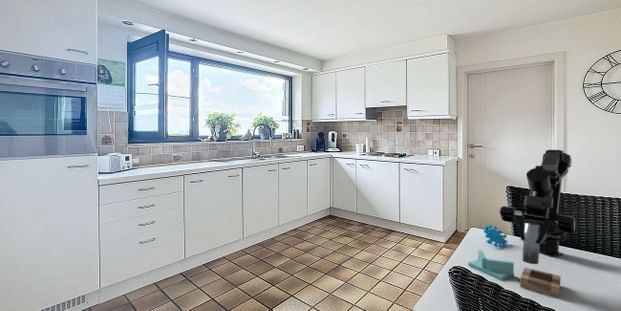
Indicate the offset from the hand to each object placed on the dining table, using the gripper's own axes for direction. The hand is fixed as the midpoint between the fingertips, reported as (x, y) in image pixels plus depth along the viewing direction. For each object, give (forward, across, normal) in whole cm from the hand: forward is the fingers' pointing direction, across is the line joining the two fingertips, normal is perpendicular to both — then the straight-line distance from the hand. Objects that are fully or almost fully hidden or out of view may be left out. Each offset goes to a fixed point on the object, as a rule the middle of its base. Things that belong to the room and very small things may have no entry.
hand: (530, 241), depth 90 cm
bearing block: (+8, +3, +11) cm, 14 cm away
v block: (+8, -11, +11) cm, 17 cm away
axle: (+4, 0, +6) cm, 7 cm away
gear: (-11, -16, +30) cm, 36 cm away
